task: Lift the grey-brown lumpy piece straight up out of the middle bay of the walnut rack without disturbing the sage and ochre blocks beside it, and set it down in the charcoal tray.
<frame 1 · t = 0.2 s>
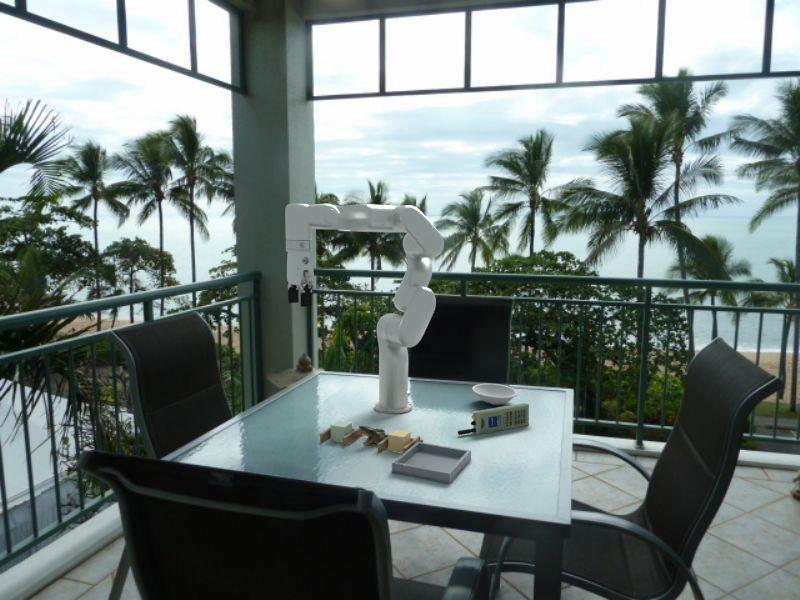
hand: (299, 304, 175), 37 cm above the table, tool pointing down, fingers open, 9 cm apart
tray: (432, 466, 149), on the table
dish: (494, 405, 202), on the table
handheld radio: (493, 431, 176), on the table
grey-brown lumpy piece: (370, 444, 164), on the table
ochre block: (399, 449, 161), resting in rack
rack: (369, 443, 164), on the table
sage block: (341, 439, 168), resting in rack
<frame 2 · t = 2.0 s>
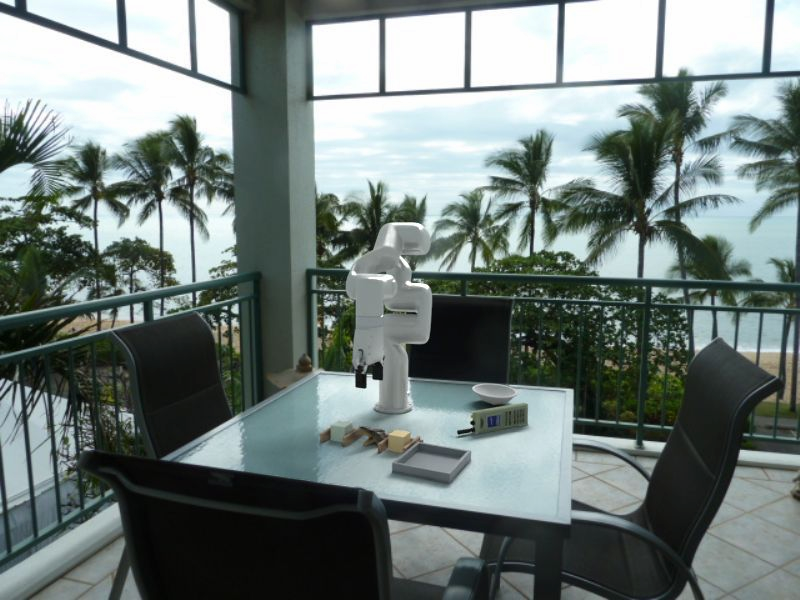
hand: (369, 383, 162), 17 cm above the table, tool pointing down, fingers open, 9 cm apart
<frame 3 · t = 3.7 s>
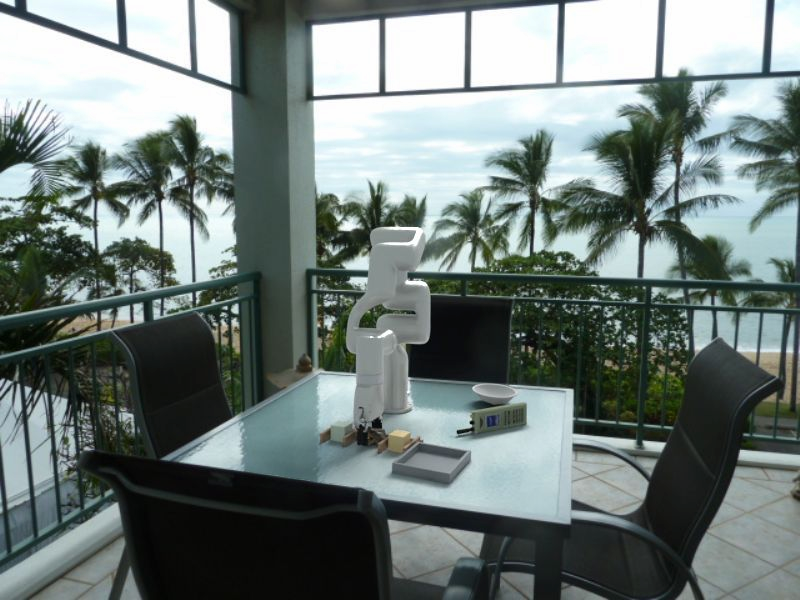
hand: (369, 440, 164), 1 cm above the table, tool pointing down, fingers closed on grey-brown lumpy piece, 7 cm apart
grey-brown lumpy piece: (370, 445, 164), on the table, touching gripper
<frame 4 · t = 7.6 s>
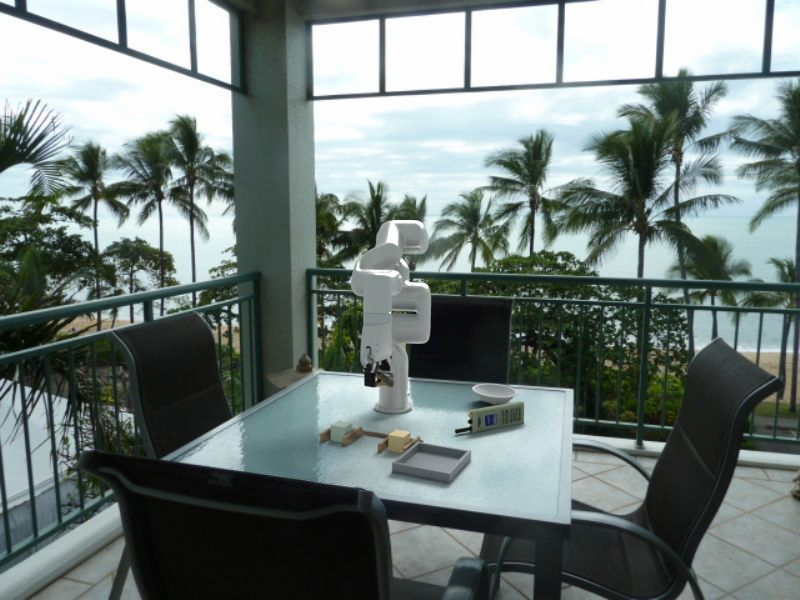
hand: (377, 382, 160), 18 cm above the table, tool pointing down, fingers closed on grey-brown lumpy piece, 7 cm apart
grey-brown lumpy piece: (378, 387, 160), point 17 cm above the table, touching gripper
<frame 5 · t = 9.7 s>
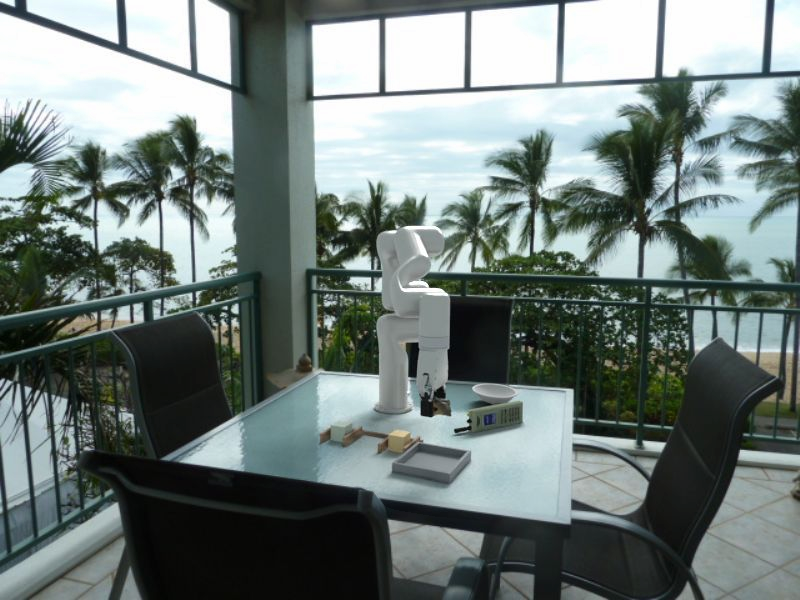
hand: (433, 411, 147), 14 cm above the table, tool pointing down, fingers closed on grey-brown lumpy piece, 7 cm apart
grey-brown lumpy piece: (434, 416, 147), point 13 cm above the table, touching gripper
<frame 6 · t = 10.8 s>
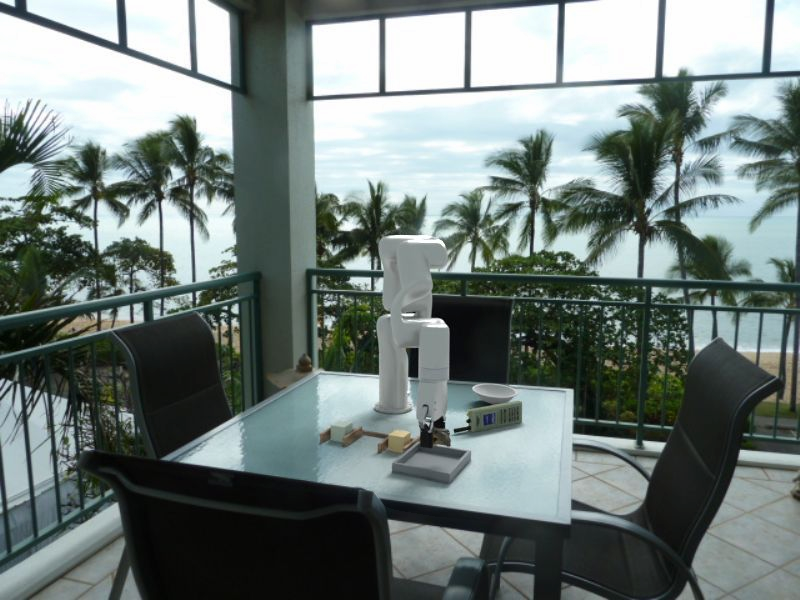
hand: (432, 441, 148), 6 cm above the table, tool pointing down, fingers closed on grey-brown lumpy piece, 7 cm apart
grey-brown lumpy piece: (433, 446, 148), point 5 cm above the table, touching gripper
when the fingers open (3 cm above the table, at t = 12.2 s): grey-brown lumpy piece drops 1 cm, resting on tray.
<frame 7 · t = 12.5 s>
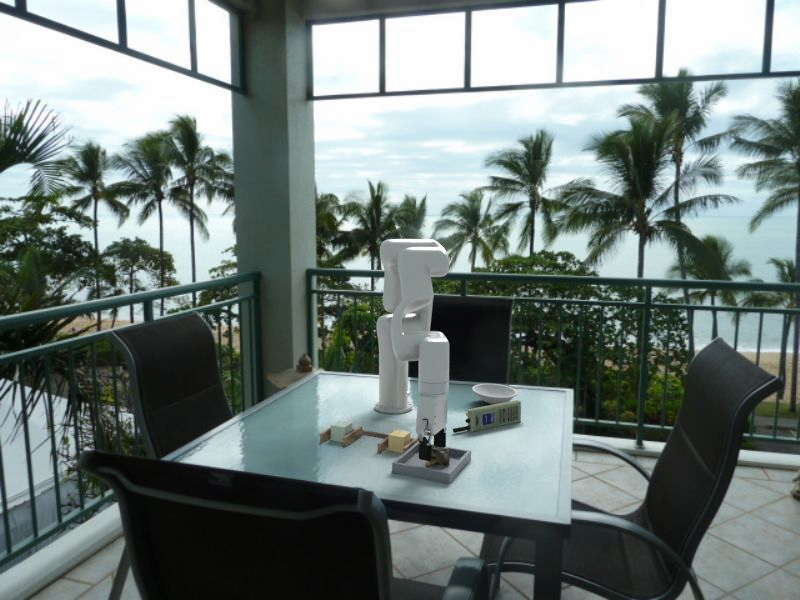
hand: (432, 453, 149), 3 cm above the table, tool pointing down, fingers open, 9 cm apart
grey-brown lumpy piece: (432, 465, 149), resting on tray
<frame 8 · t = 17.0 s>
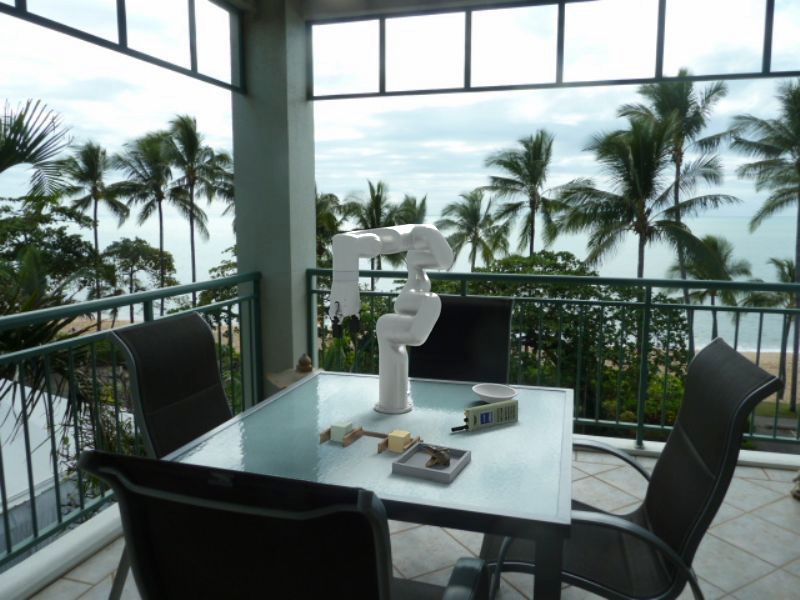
hand: (346, 335, 173), 28 cm above the table, tool pointing down, fingers open, 9 cm apart
at the end: grey-brown lumpy piece inside the target area on the tray (0.6 cm from its centre), point 0.4 cm above the tray's base; sage block moved 0.1 cm from its start; ochre block moved 0.1 cm from its start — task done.
